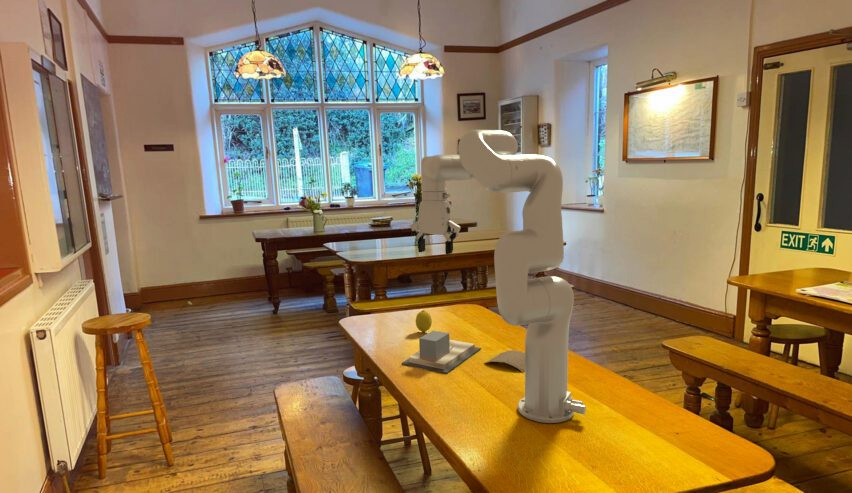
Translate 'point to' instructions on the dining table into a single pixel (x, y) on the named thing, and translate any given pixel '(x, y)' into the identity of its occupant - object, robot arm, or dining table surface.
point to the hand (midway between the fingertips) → (435, 252)
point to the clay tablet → (511, 359)
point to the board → (445, 358)
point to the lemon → (423, 321)
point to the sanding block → (434, 345)
